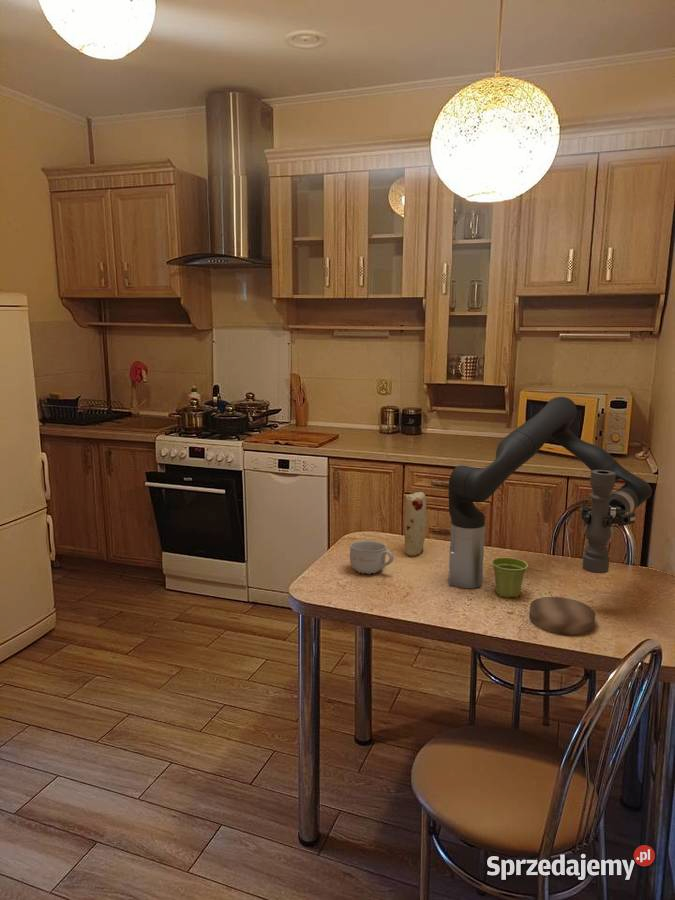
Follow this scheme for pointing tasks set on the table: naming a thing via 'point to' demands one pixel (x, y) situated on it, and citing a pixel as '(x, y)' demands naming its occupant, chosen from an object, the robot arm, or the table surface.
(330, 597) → the table surface
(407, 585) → the table surface
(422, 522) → the food model
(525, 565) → the plant pot
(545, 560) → the table surface
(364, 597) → the table surface
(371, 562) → the teacup
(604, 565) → the candle holder
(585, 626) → the walnut plinth
